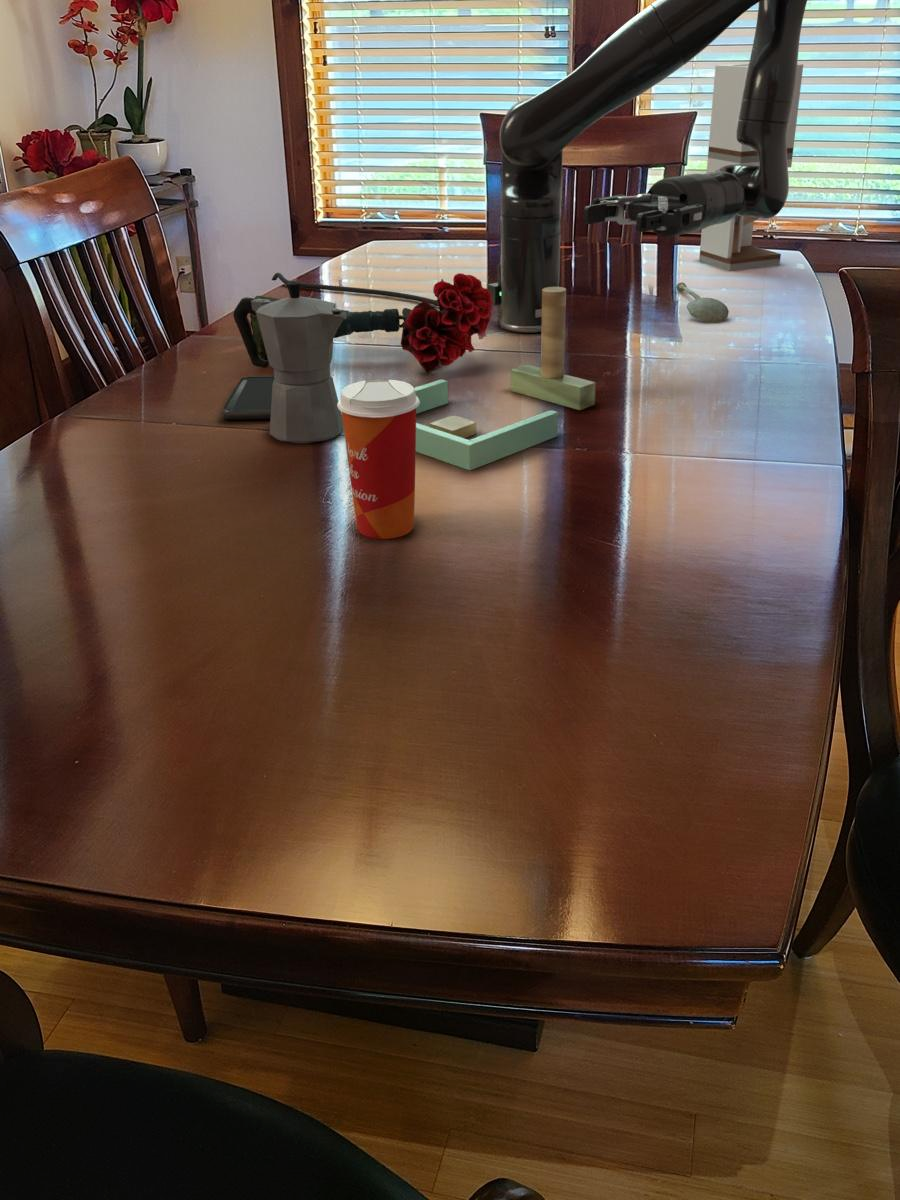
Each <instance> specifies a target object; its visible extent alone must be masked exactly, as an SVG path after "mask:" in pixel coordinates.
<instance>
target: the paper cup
mask: <svg viewBox="0 0 900 1200" xmlns="http://www.w3.org/2000/svg"><path fill="white" fill-rule="evenodd" d="M414 388H415V387H414V386H413V385H412V384H410V383H408V382H406V381H402V380H397V379H388V381H384V380H383V379H373V380H370V382H369V381H368V382H366V380H361V381H357V382H353V383H350V384H348V385H346V386H345V387H344V388H343V389H342V390H341V392H340V399H338V401H339V402H338V404H337V407H338V409H339V410H340V411H341V413H342V420H343V435H344V442H345V449H346V457H347V464H348V471H349V472H348V473H349V478H350V486H351V494H352V501H353V509H354V514H355V521H356V522H355V523H356V527H357V530H358V532H359V533H360V534H361V535H363V536H364V537H367V538H371V539H375V540H376V539H377V540H389V539H390V540H391V539H396V538H400V537H403V536H406V535H407V534H409V533H410V532H412V530H413V529H414V524H415V523H414V522H415V504H416V503H415V502H416V500H415V499H416V453H417V452H416V423H417V414H416V408H417V407H418V406H419V404H420V401H419V399H418V397H417V396H416V394H415V390H414Z"/></svg>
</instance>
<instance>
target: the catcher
mask: <svg viewBox="0 0 900 1200" xmlns="http://www.w3.org/2000/svg"><path fill="white" fill-rule="evenodd" d="M448 381H449V380H445V379H442V378H441V379H438V380H435V381H431V382H429V383H424V384H421V385H419V386H415V387H413V388H414V390H415V394H416V396H417V397H418V399H419V401H420V404H419V406H418V407H417V408H416V415H417V414H420V413H423V412H426V411H428V410H433V409H435V408H438V407H441V406H445V405H447V404H449V383H448ZM558 431H559V412H558V411H555V410H552V409H550V410H547V411H544V412H541V413H539V414H536V415H533V416H531V417H527V418H526V419H523V420H520V421H517V422H515V423H511V424H509V425H506V426H503V427H501V428H498V429H495V430H493V431H490V432H487V433H484V434H482V435H479V436H477V437H474V438H471V439H468V438H461V437H458V436H455V435H452V434H449V433H446V432H443V431H440V430H437V429H434V428H430V426H427V425H424V424H421V423H419V422H416V453H419V454H420V455H421V454H422V455H424V456H428V457H430V458H433V459H435V460H437V461H438V460H439V461H441V462H444V463H447V464H450V465H452V466H455V467H458V468H461V469H464V470H467V471H472V470H476V469H478V468H480V467H483V466H486V465H488V464H490V463H494V462H495V461H499V460H500V459H504V458H505V457H508V456H510V455H513V454H516V453H519V452H521V451H524V450H526V449H528V448H531V447H534V446H536V445H539V444H542V443H544V442H546V441H548V440H551V439H554V438H556V437H558V435H559V434H558V433H559V432H558Z"/></svg>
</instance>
